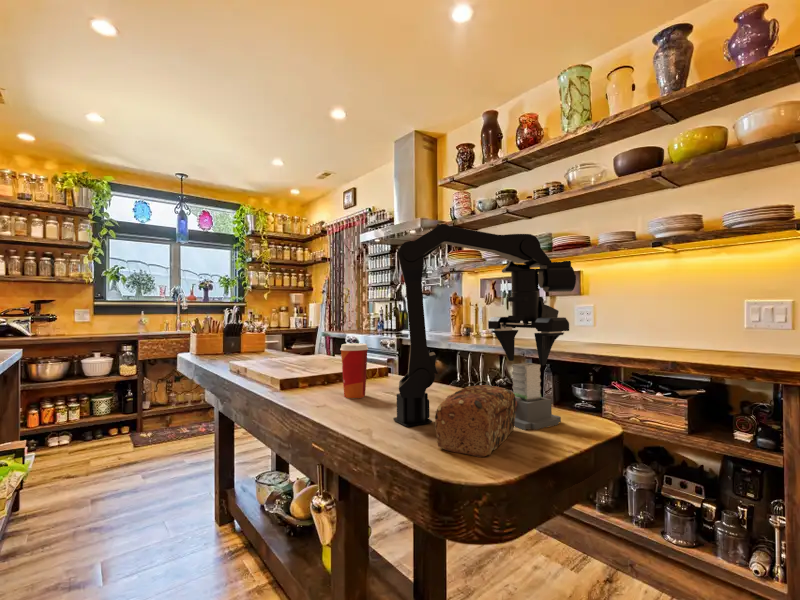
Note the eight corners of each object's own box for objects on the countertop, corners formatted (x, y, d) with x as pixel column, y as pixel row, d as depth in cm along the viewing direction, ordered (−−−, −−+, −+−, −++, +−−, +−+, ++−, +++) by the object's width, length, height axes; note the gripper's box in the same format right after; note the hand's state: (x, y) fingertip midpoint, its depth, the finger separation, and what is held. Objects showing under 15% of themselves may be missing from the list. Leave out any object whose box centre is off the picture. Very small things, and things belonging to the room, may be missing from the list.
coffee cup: (353, 392, 121) (353, 342, 121) (374, 395, 116) (374, 343, 117) (333, 397, 114) (333, 344, 115) (355, 401, 109) (354, 346, 110)
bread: (490, 461, 66) (489, 400, 66) (431, 450, 71) (431, 393, 72) (518, 430, 82) (517, 381, 82) (469, 423, 87) (468, 377, 88)
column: (525, 406, 86) (525, 366, 86) (512, 402, 89) (511, 364, 89) (541, 403, 88) (540, 364, 88) (527, 400, 91) (527, 362, 92)
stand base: (528, 431, 81) (527, 403, 81) (491, 418, 90) (491, 393, 91) (564, 423, 86) (563, 397, 86) (526, 412, 96) (525, 388, 96)
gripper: (585, 290, 85) (587, 364, 84) (520, 294, 101) (521, 356, 101) (549, 290, 79) (551, 369, 79) (486, 294, 96) (487, 359, 95)
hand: (526, 362), depth 89 cm, fingers open, 9 cm apart
